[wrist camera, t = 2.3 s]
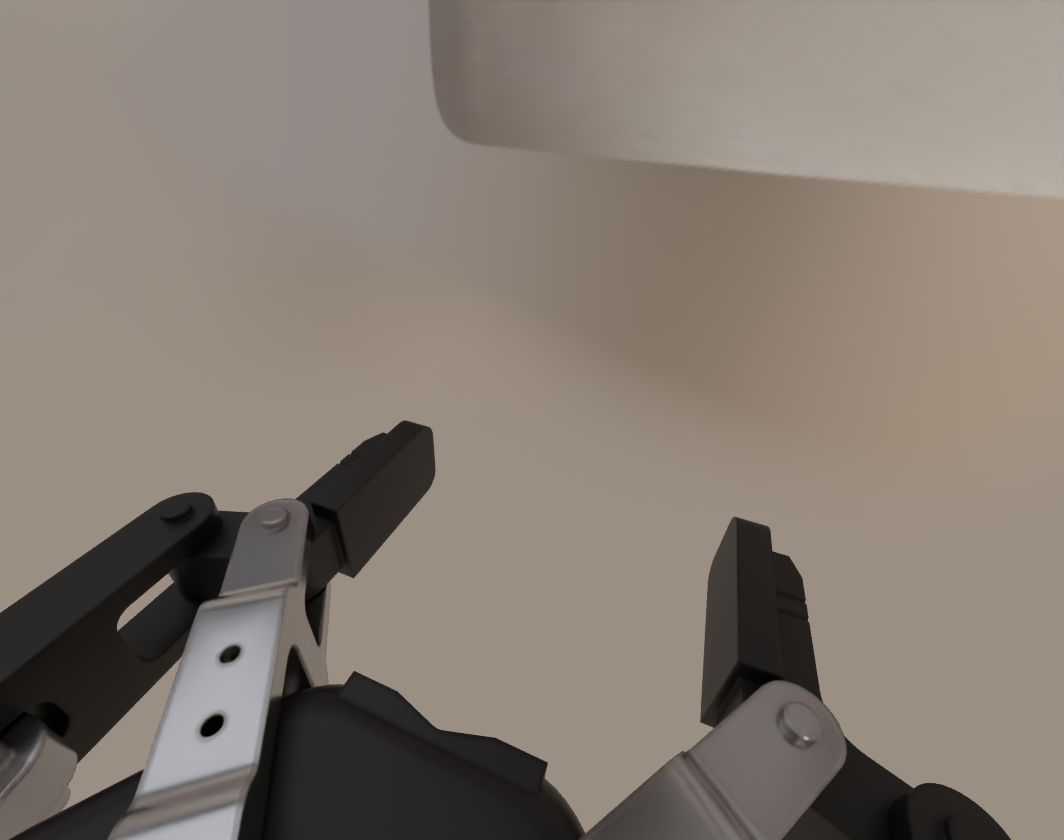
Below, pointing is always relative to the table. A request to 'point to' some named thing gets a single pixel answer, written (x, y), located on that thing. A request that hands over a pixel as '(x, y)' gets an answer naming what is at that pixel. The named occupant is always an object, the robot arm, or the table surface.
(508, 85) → the table surface
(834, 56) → the table surface
